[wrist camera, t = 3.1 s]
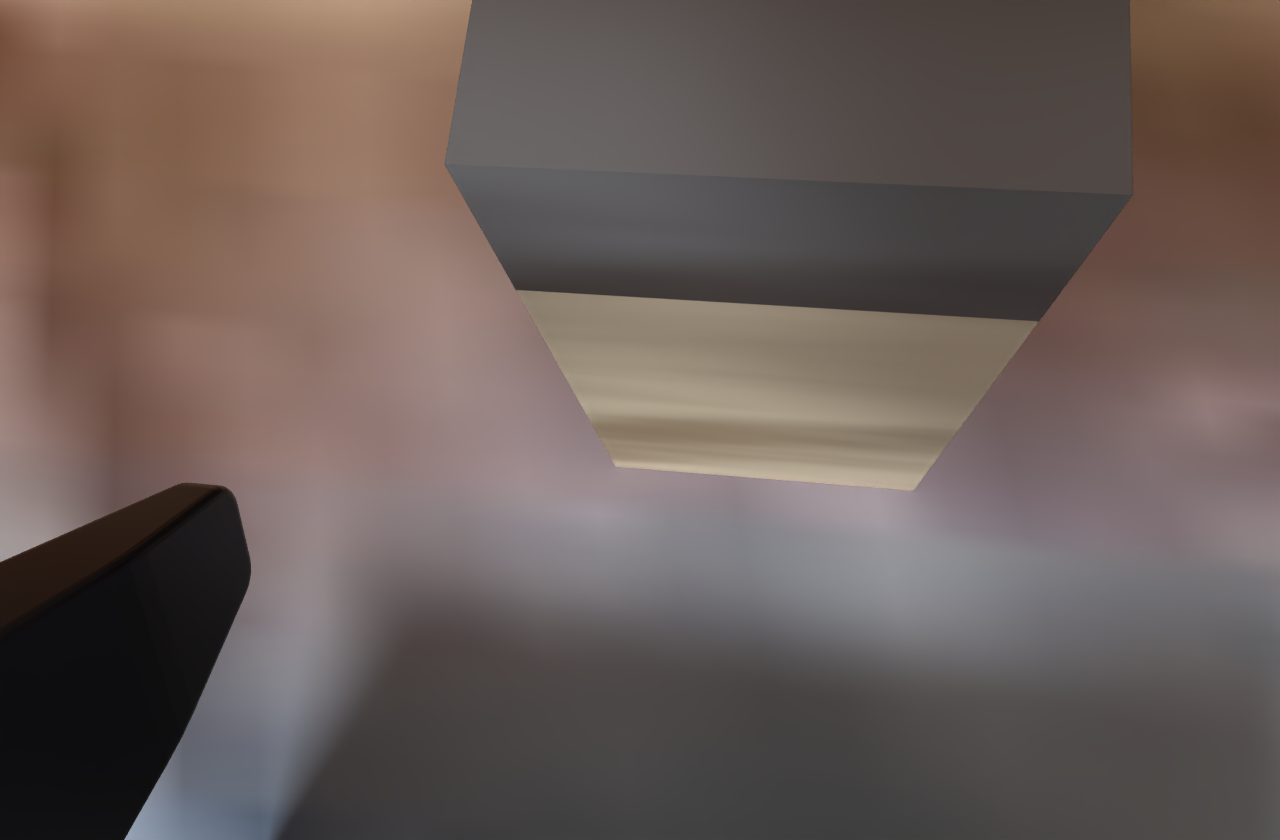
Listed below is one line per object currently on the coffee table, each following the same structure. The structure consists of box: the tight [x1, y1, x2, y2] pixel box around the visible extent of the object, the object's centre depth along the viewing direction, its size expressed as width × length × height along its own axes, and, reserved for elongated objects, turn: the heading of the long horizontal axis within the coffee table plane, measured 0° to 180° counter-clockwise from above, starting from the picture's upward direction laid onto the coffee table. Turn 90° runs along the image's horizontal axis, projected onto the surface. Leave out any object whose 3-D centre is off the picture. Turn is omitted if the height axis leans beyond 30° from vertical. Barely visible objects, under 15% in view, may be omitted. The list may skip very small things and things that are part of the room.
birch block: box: [445, 0, 1133, 491], centre depth 16 cm, size 6×6×12 cm
